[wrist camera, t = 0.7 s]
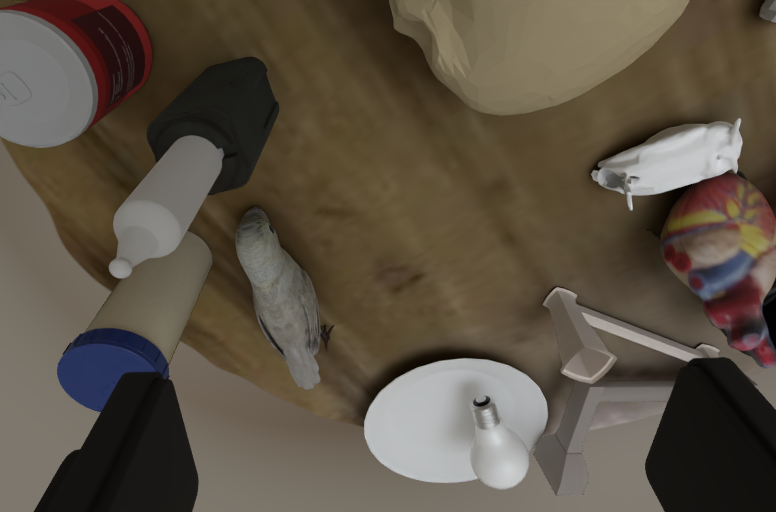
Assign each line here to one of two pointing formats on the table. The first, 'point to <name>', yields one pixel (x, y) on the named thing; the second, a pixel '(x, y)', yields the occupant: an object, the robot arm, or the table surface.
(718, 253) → the anatomical model
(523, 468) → the lightbulb
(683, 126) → the bird figurine
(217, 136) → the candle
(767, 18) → the bone
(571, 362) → the toilet paper hanger
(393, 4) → the skull
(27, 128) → the canned food
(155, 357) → the lid
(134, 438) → the robot arm
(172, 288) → the jar
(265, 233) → the decorative bird
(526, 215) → the table surface
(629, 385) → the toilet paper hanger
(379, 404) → the plate
